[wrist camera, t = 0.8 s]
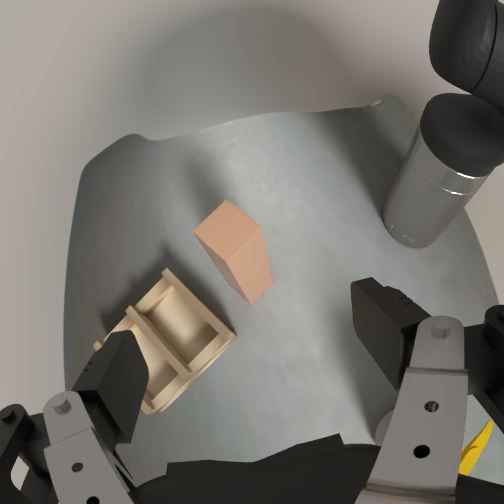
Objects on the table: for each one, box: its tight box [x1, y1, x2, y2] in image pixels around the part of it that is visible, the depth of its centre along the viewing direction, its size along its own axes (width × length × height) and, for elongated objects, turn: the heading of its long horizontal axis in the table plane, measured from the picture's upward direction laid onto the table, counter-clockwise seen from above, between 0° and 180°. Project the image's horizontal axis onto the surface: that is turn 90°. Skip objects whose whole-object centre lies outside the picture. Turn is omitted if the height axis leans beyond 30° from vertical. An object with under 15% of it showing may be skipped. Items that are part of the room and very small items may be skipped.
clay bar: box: [193, 199, 273, 305], centre depth 33 cm, size 4×4×16 cm
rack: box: [93, 268, 238, 415], centre depth 36 cm, size 14×11×5 cm
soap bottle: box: [375, 409, 494, 476], centre depth 22 cm, size 7×7×18 cm
